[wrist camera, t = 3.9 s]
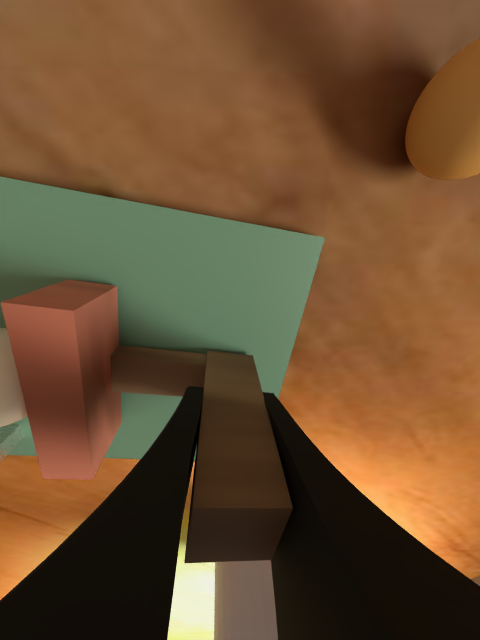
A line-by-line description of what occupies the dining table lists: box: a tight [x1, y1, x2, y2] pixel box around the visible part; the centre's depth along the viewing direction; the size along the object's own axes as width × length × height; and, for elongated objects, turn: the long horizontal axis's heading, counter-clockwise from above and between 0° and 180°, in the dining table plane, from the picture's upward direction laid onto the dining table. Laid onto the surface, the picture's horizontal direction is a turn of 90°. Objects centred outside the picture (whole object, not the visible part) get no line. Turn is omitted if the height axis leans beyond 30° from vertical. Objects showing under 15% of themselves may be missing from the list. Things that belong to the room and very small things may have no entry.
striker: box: [1, 279, 293, 563], centre depth 8 cm, size 8×9×7 cm
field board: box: [0, 177, 325, 461], centre depth 12 cm, size 15×21×1 cm
